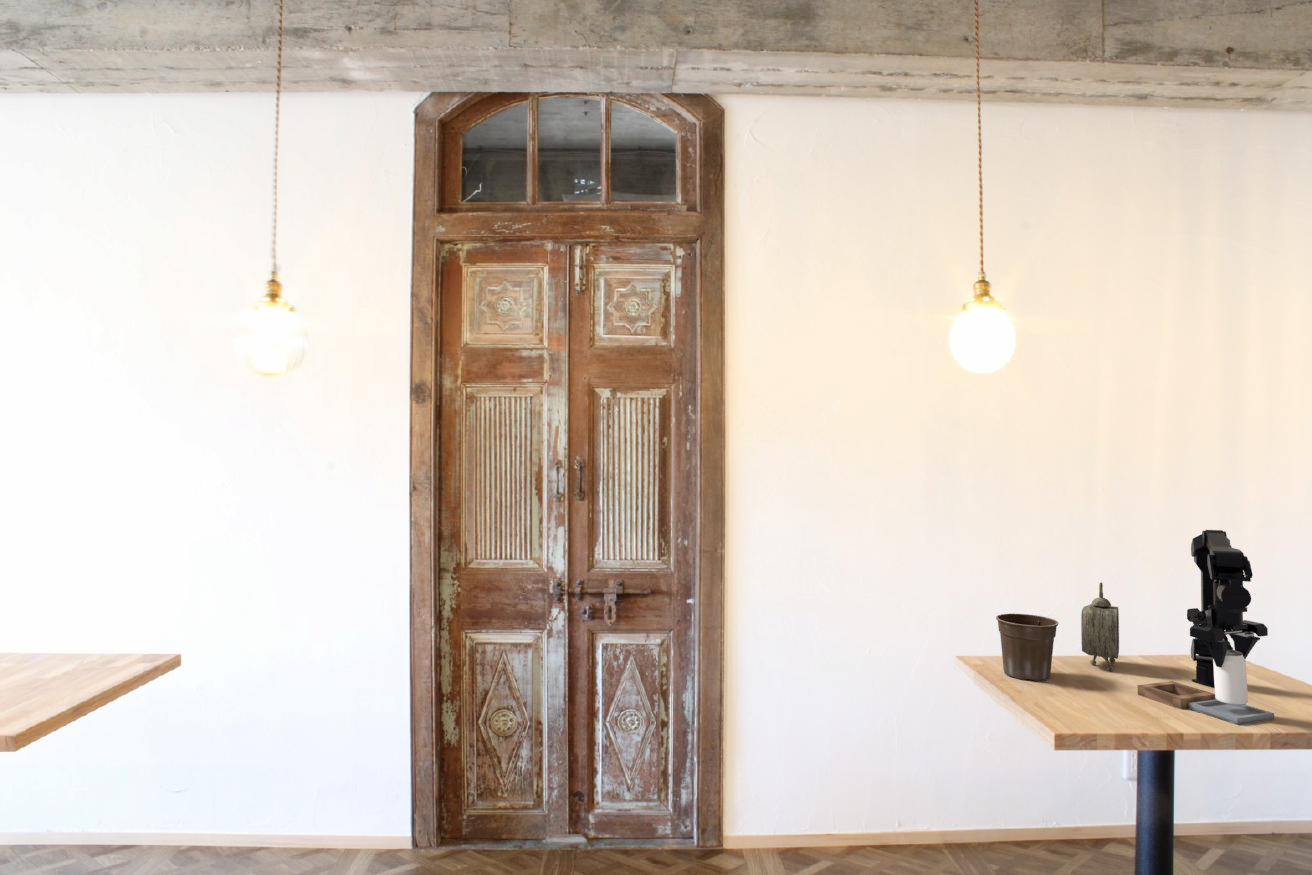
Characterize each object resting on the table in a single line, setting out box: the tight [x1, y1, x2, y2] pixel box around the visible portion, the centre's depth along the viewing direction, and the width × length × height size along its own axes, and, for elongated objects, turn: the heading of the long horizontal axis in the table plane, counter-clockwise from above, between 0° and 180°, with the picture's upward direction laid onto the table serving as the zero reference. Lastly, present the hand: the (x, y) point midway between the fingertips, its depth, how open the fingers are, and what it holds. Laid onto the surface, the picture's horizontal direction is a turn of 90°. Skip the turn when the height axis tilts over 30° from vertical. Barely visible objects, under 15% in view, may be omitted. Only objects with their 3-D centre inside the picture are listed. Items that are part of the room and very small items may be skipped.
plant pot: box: [995, 613, 1059, 682], centre depth 222 cm, size 16×16×16 cm
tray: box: [1188, 699, 1275, 726], centre depth 189 cm, size 12×12×2 cm
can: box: [1213, 649, 1249, 705], centre depth 189 cm, size 6×6×12 cm
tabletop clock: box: [1080, 582, 1120, 672], centre depth 232 cm, size 14×9×25 cm, turn 147°
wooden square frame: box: [1137, 680, 1216, 710], centre depth 200 cm, size 12×12×2 cm
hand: (1229, 665), depth 189 cm, fingers closed on can, 6 cm apart
